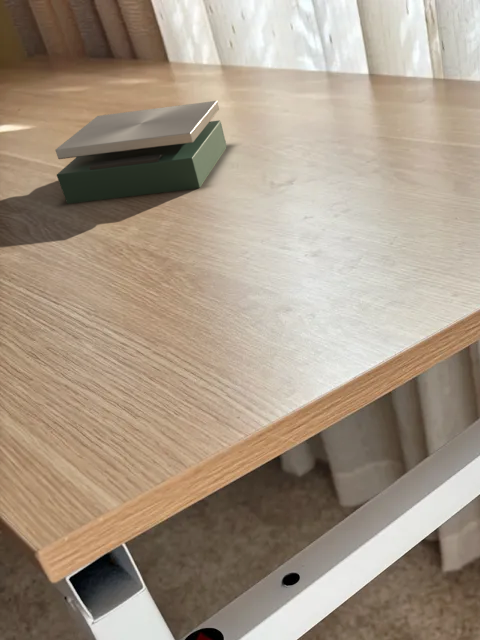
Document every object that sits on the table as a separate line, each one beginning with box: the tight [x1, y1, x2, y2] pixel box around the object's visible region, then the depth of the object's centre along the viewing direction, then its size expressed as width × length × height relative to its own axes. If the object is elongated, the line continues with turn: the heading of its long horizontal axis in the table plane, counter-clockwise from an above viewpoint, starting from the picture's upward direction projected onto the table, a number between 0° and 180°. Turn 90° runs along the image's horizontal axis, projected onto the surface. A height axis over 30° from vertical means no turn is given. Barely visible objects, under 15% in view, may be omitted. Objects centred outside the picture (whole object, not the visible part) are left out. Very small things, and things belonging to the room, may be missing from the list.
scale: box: [56, 119, 228, 205], centre depth 75 cm, size 12×13×3 cm
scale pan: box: [54, 100, 220, 160], centre depth 74 cm, size 12×12×1 cm
